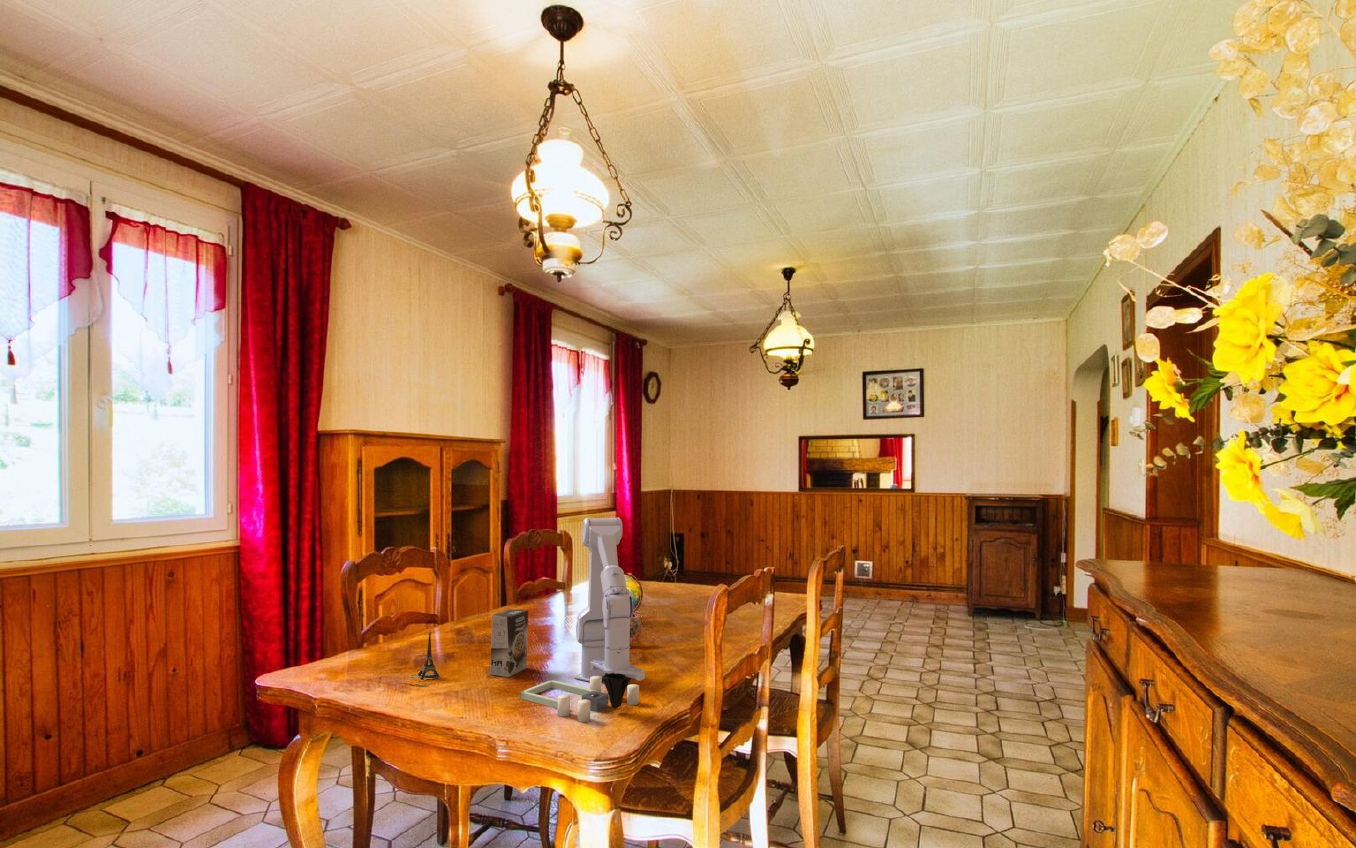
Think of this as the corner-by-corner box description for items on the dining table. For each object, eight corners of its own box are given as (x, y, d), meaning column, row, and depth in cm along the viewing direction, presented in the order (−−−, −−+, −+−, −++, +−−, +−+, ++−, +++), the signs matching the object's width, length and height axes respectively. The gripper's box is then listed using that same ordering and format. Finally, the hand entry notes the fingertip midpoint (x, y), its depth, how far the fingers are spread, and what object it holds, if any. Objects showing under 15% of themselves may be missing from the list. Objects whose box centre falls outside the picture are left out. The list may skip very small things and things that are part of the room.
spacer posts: (594, 691, 165) (595, 675, 166) (641, 702, 158) (641, 685, 158) (546, 713, 151) (547, 695, 151) (595, 726, 143) (595, 707, 143)
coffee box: (509, 677, 176) (511, 616, 177) (489, 675, 178) (490, 614, 179) (528, 668, 184) (529, 609, 185) (508, 665, 186) (509, 608, 187)
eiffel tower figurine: (428, 668, 185) (430, 620, 186) (460, 671, 182) (461, 622, 183) (392, 685, 170) (394, 633, 171) (425, 689, 168) (427, 636, 169)
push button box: (592, 703, 158) (592, 690, 158) (608, 706, 156) (608, 693, 156) (581, 709, 154) (581, 696, 154) (597, 713, 152) (597, 699, 152)
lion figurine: (639, 643, 211) (639, 615, 212) (642, 647, 206) (642, 618, 207) (593, 646, 208) (594, 617, 208) (595, 650, 202) (596, 621, 203)
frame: (551, 685, 169) (551, 680, 169) (596, 697, 161) (596, 690, 162) (519, 698, 160) (520, 692, 160) (566, 711, 152) (566, 704, 152)
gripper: (581, 645, 153) (580, 705, 152) (632, 655, 145) (631, 718, 144) (600, 639, 159) (600, 696, 158) (650, 648, 151) (649, 708, 150)
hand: (616, 706), depth 151 cm, fingers closed
